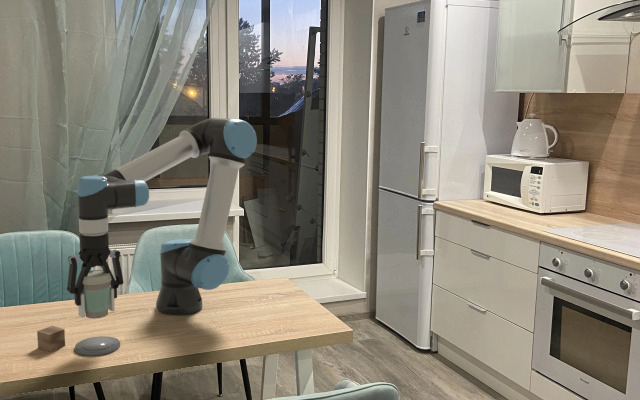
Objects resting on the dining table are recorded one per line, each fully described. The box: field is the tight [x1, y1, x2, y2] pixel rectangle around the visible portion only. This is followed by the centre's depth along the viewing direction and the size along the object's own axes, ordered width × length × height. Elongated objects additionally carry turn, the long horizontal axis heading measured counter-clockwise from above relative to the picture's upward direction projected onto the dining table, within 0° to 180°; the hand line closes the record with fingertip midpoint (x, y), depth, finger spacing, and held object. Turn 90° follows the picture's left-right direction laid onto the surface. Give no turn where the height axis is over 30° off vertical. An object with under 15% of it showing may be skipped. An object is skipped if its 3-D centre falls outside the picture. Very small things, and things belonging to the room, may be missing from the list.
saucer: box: [74, 335, 121, 357], centre depth 178 cm, size 12×12×1 cm
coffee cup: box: [82, 269, 112, 319], centre depth 176 cm, size 8×8×12 cm
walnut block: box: [36, 325, 66, 353], centre depth 177 cm, size 5×5×5 cm
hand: (96, 312), depth 177 cm, fingers closed on coffee cup, 8 cm apart
